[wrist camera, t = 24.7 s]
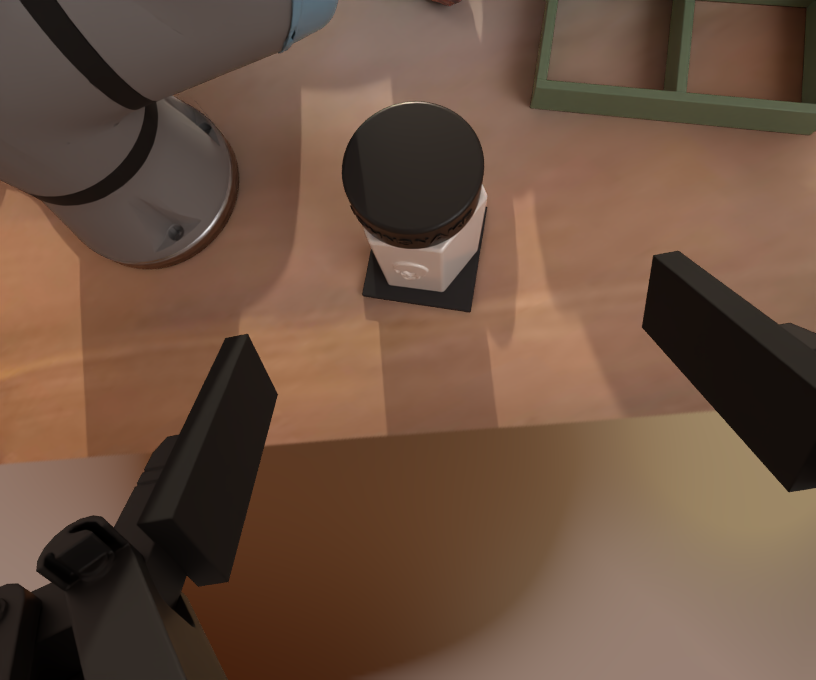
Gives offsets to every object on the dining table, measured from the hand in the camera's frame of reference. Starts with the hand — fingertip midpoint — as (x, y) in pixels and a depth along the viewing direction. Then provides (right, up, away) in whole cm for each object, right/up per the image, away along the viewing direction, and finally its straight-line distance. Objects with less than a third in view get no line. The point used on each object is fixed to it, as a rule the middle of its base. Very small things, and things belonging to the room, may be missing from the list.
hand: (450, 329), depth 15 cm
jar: (0, +8, +22) cm, 23 cm away
